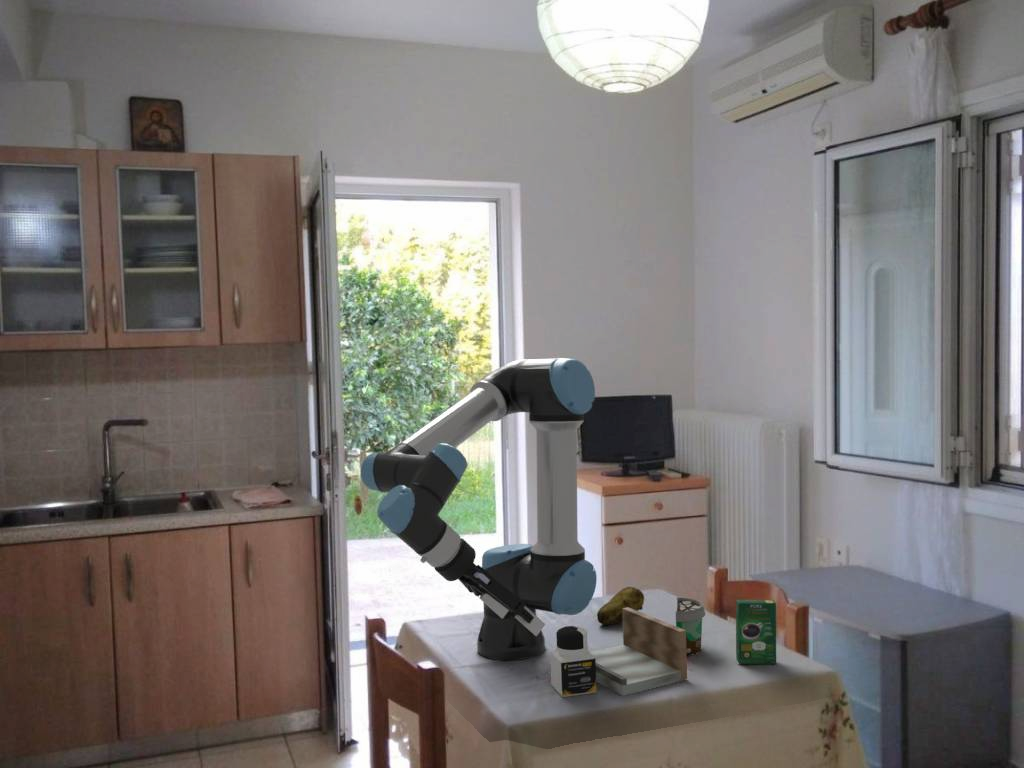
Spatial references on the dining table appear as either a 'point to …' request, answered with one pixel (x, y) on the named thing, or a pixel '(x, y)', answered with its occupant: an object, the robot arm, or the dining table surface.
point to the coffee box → (756, 631)
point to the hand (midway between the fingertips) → (522, 621)
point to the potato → (620, 605)
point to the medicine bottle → (573, 663)
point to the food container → (690, 622)
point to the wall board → (643, 655)
